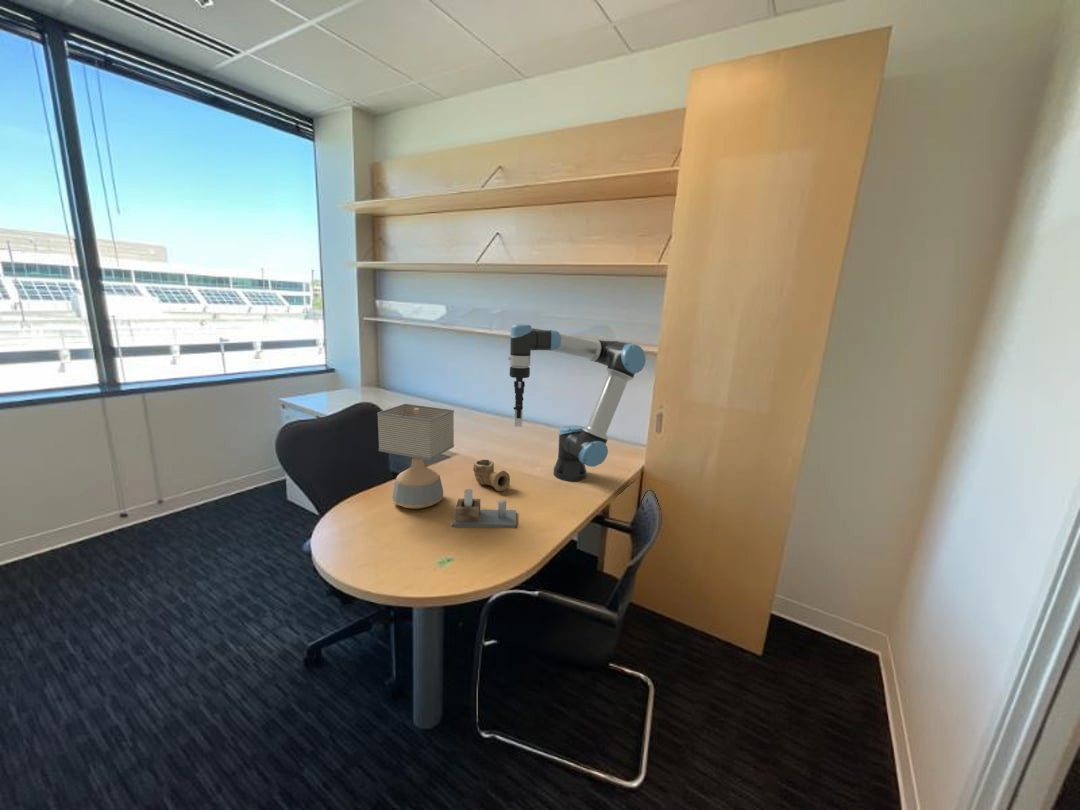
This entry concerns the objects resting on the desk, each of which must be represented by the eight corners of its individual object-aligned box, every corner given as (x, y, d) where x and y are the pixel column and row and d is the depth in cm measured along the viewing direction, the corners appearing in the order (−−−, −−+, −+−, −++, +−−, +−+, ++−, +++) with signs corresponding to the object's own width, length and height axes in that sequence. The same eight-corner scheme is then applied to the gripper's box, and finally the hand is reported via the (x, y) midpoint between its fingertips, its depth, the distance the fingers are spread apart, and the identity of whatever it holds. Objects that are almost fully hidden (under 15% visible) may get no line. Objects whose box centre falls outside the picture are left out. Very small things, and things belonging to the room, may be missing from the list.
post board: (515, 512, 160) (516, 484, 158) (515, 527, 150) (516, 498, 147) (456, 511, 159) (456, 484, 156) (451, 526, 148) (451, 497, 146)
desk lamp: (455, 496, 171) (455, 406, 163) (428, 517, 154) (427, 418, 145) (409, 487, 178) (407, 400, 170) (378, 506, 160) (374, 410, 152)
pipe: (496, 495, 174) (497, 472, 172) (468, 484, 183) (468, 462, 181) (511, 488, 181) (511, 466, 179) (483, 478, 190) (483, 456, 188)
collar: (480, 511, 158) (480, 498, 157) (478, 522, 150) (478, 509, 149) (458, 511, 157) (458, 498, 156) (455, 521, 150) (455, 508, 148)
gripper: (510, 361, 172) (508, 413, 177) (509, 371, 148) (507, 430, 153) (528, 362, 173) (526, 413, 178) (531, 372, 149) (529, 430, 153)
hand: (518, 421), depth 165 cm, fingers open, 13 cm apart
